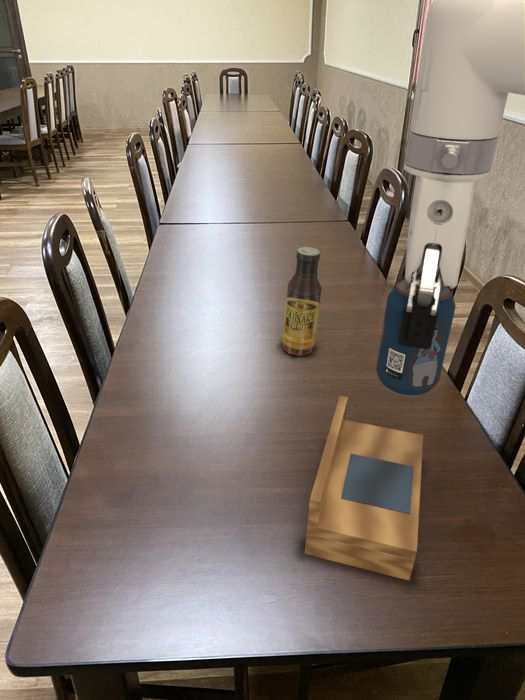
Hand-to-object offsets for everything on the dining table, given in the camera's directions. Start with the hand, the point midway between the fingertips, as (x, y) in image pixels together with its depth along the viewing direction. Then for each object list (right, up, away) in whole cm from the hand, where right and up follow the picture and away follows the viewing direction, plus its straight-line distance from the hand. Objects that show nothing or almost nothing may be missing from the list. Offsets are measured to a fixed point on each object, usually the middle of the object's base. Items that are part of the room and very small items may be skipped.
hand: (416, 327), depth 57 cm
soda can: (0, -6, +4) cm, 7 cm away
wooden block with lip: (-3, -22, +12) cm, 26 cm away
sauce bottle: (-9, -2, +45) cm, 46 cm away
